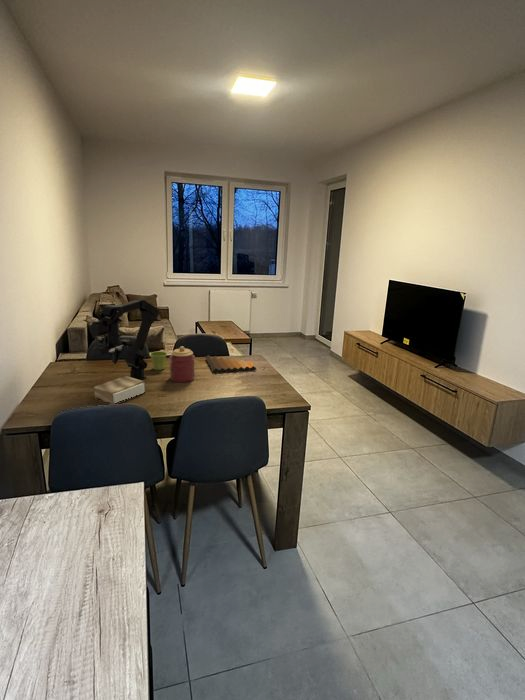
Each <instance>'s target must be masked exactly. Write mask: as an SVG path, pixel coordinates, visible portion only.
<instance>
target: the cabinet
mask: <svg viewBox="0 0 525 700" xmlns="http://www.w3.org/2000/svg"><path fill="white" fill-rule="evenodd" d="M143 382H144V380H138V379H135V378H131V376H127V375H125V376H122V377H118V378H115V379H113V380H110V381H107V382H104V383H102V384H101V383H100V384H99V385H95V386H93V390H94V398H95V397H97V398H100V399H102V400H105V401H107V402H111V403H113V394H114V393H117V392H120V391H122V390H125V389H128V388H131V387H133V386H136V385H139V384H141V383H143ZM107 402H106V403H107Z"/></svg>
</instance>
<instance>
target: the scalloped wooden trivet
mask: <svg viewBox="0 0 525 700" xmlns="http://www.w3.org/2000/svg"><path fill="white" fill-rule="evenodd" d="M205 360H206V362H207V363H208V366H209V365H210V366H209V367H210V370H211V371H212V372H213V374H224V373H231V372H232V373H237V372H239V371H241V372H251V370H255V371H257V367H256V366H255V365H254V364H253V362H252V361H250V360H247V361H244V360H242V359H240V361H239V360H238V359H236V358H234V359H233V360H232V359H231V358H230V357H227V358H224V357H223V356H221V357H219V358H218V357H217V356H216V355H215V356H213V357H212V356H211V355H209V354H208V355H206V356H205ZM244 370H245V371H244Z"/></svg>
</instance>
